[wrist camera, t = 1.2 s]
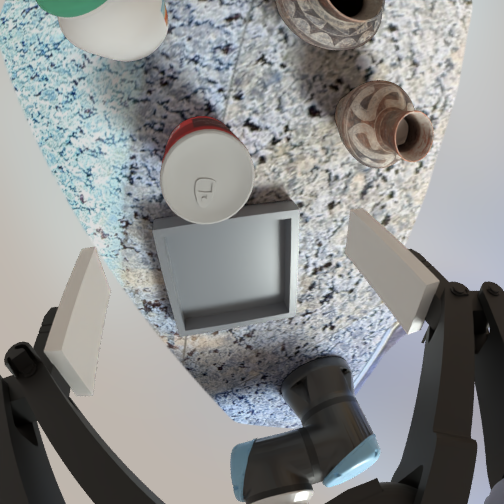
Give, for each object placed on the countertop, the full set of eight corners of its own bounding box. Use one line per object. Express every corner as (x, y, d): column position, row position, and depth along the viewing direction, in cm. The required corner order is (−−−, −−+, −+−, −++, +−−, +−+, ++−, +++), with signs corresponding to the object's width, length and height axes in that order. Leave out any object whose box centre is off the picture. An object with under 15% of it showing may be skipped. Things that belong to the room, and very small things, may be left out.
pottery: (331, 167, 38) (383, 204, 28) (242, -15, 24) (272, -55, 14) (398, 133, 37) (460, 160, 27) (328, -39, 23) (383, -69, 13)
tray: (289, 303, 48) (295, 316, 45) (179, 322, 45) (179, 336, 43) (291, 199, 39) (299, 209, 36) (153, 219, 36) (152, 230, 34)
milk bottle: (170, 56, 27) (152, 22, 10) (99, 68, 26) (4, 64, 9) (168, -7, 23) (156, -99, 6) (97, 6, 22) (13, -56, 5)
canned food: (172, 189, 35) (170, 233, 26) (160, 122, 31) (150, 140, 21) (238, 177, 36) (259, 216, 27) (230, 110, 32) (251, 123, 22)
